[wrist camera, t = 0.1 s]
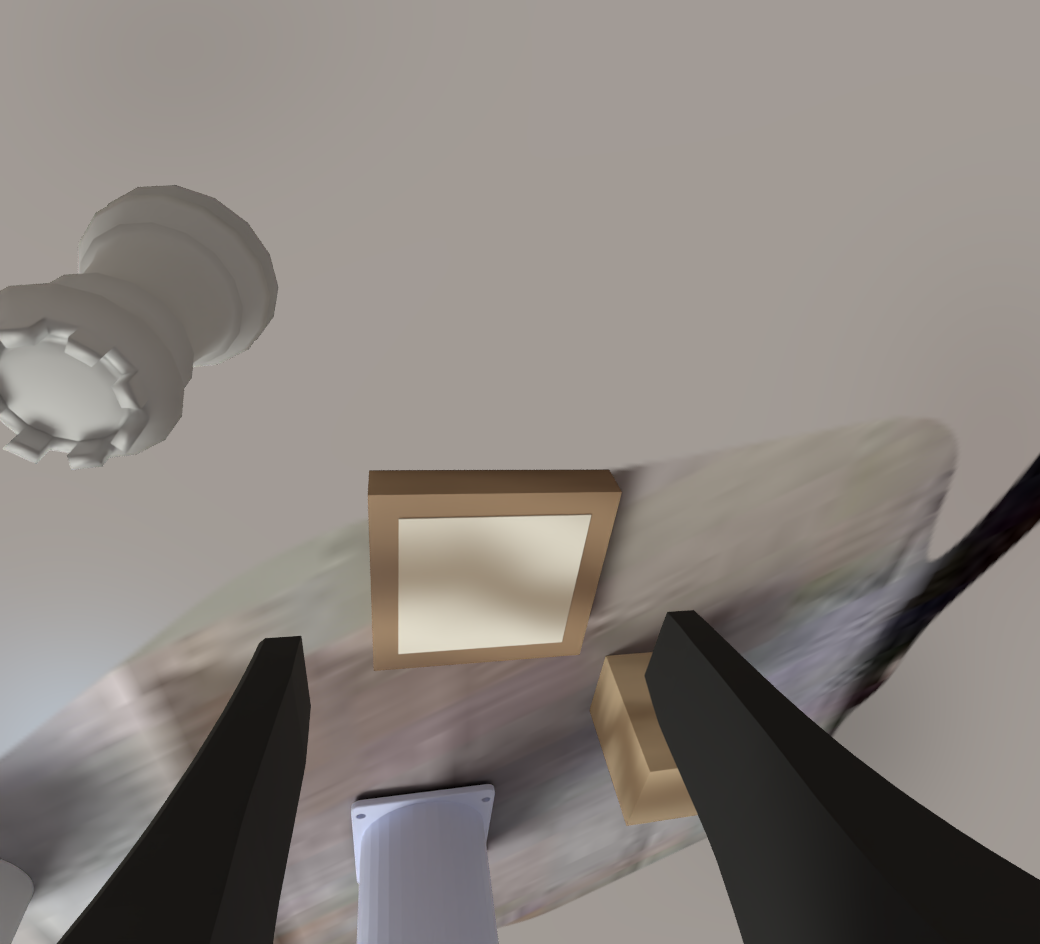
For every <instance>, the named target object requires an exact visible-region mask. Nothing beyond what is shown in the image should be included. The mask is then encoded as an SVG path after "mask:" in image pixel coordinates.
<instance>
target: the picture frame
mask: <svg viewBox="0 0 1040 944" xmlns="http://www.w3.org/2000/svg"><path fill="white" fill-rule="evenodd" d="M621 494H622V491H621V489H620V488H619V486H618V484H617V483H616V481H615V479H614V477H613V476H612V474H611V472H610V470H400V471H399V470H395V471H394V470H392V471H391V470H387V471H385V470H383V471H382V470H381V471H380V470H379V471H369V484H368V514H369V543H370V573H371V603H372V632H373V662H374V671H378V670H391V669H404V668H416V667H429V666H442V665H454V664H467V663H480V662H492V661H505V660H518V659H530V658H543V657H556V656H568V655H579V654H580V650H581V647H582V643H583V639H584V635H585V631H586V627H587V624H588V620H589V616H590V612H591V608H592V605H593V601H594V597H595V593H596V589H597V585H598V582H599V578H600V574H601V570H602V566H603V562H604V559H605V555H606V551H607V547H608V543H609V539H610V536H611V532H612V528H613V524H614V520H615V517H616V513H617V509H618V505H619V501H620V497H621Z"/></svg>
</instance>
